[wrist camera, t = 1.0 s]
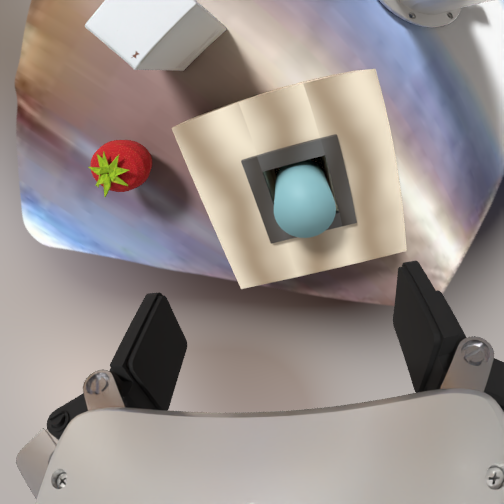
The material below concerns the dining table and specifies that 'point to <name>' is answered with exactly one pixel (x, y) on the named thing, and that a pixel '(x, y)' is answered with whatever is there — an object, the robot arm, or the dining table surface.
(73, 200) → the dining table surface
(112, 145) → the strawberry
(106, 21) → the supplement box
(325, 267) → the collar block
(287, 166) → the teal peg
